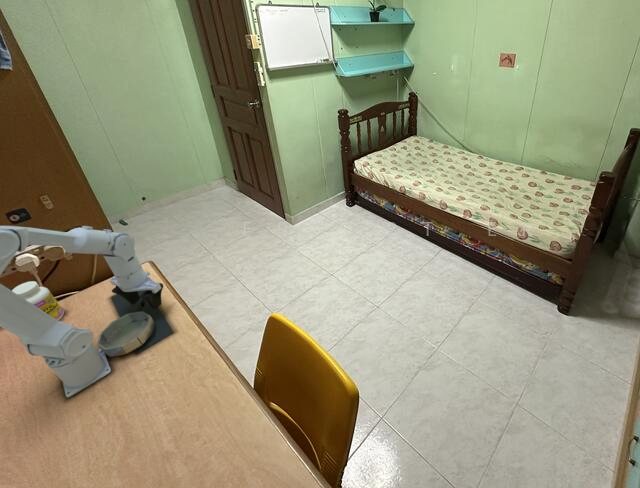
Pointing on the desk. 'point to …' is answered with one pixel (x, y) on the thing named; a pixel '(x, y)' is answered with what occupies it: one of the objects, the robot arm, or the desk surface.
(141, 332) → the frying pan
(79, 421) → the desk surface
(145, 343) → the mat
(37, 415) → the desk surface
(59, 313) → the supplement bottle
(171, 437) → the desk surface
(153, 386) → the desk surface
